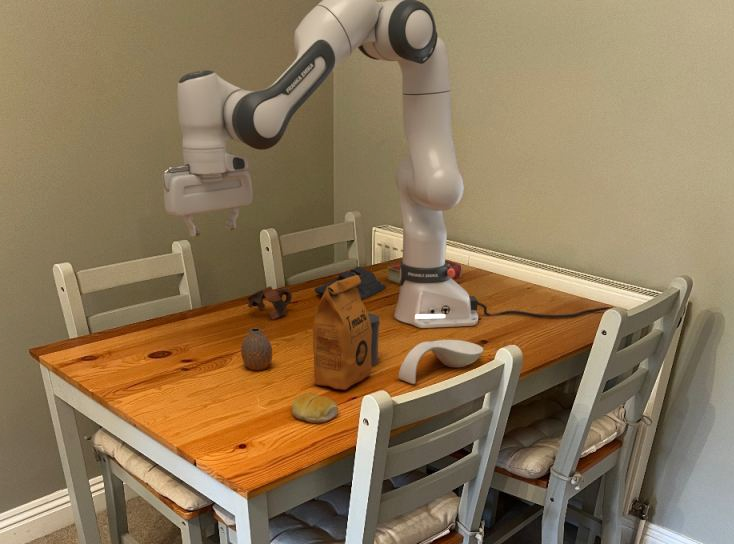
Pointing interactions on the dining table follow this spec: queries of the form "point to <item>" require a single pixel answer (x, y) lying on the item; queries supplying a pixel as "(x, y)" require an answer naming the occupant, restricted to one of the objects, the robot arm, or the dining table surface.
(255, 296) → the brown grey irregular piece
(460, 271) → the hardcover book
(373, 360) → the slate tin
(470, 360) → the spoon rest
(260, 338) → the vase
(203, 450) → the dining table surface
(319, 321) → the coffee package
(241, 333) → the dining table surface
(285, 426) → the dining table surface
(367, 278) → the folded navy cloth
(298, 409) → the bread roll
